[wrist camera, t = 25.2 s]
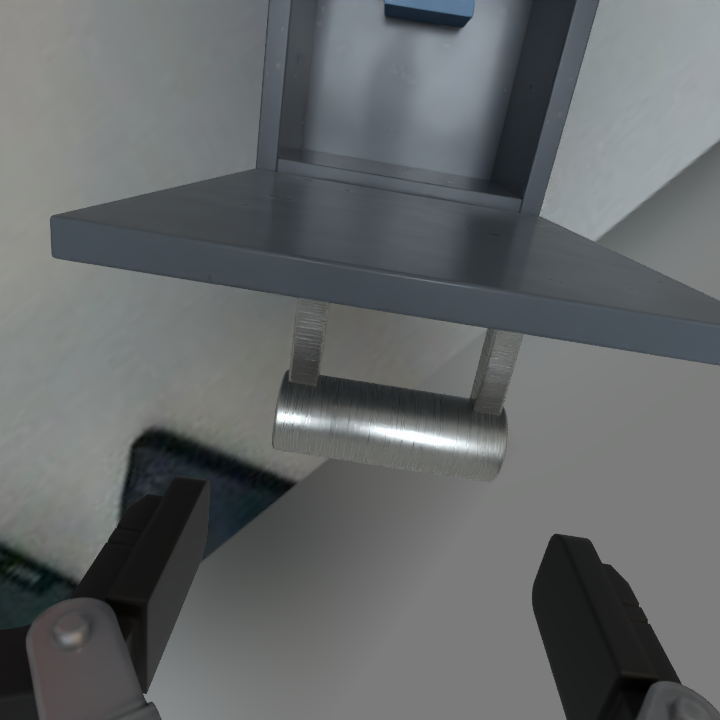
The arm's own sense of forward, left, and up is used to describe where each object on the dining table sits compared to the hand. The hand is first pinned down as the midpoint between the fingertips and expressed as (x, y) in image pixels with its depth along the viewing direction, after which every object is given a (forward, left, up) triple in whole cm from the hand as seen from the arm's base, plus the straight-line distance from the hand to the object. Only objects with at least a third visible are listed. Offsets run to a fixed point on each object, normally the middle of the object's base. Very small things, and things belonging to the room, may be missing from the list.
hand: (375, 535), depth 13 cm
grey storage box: (-14, 0, -28) cm, 31 cm away
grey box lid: (-6, 0, -9) cm, 10 cm away
